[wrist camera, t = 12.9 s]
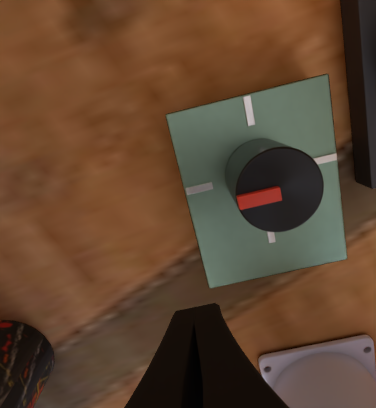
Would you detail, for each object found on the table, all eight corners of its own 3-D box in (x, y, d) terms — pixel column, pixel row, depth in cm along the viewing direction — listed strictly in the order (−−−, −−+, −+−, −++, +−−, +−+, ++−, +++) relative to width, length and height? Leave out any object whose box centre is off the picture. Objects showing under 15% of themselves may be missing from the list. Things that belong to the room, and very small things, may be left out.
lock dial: (289, 130, 15) (322, 137, 12) (299, 198, 16) (332, 224, 13) (218, 148, 16) (228, 160, 12) (232, 214, 17) (246, 244, 13)
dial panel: (328, 241, 20) (349, 260, 17) (206, 268, 21) (209, 290, 18) (309, 78, 17) (330, 72, 15) (167, 113, 18) (164, 114, 15)
